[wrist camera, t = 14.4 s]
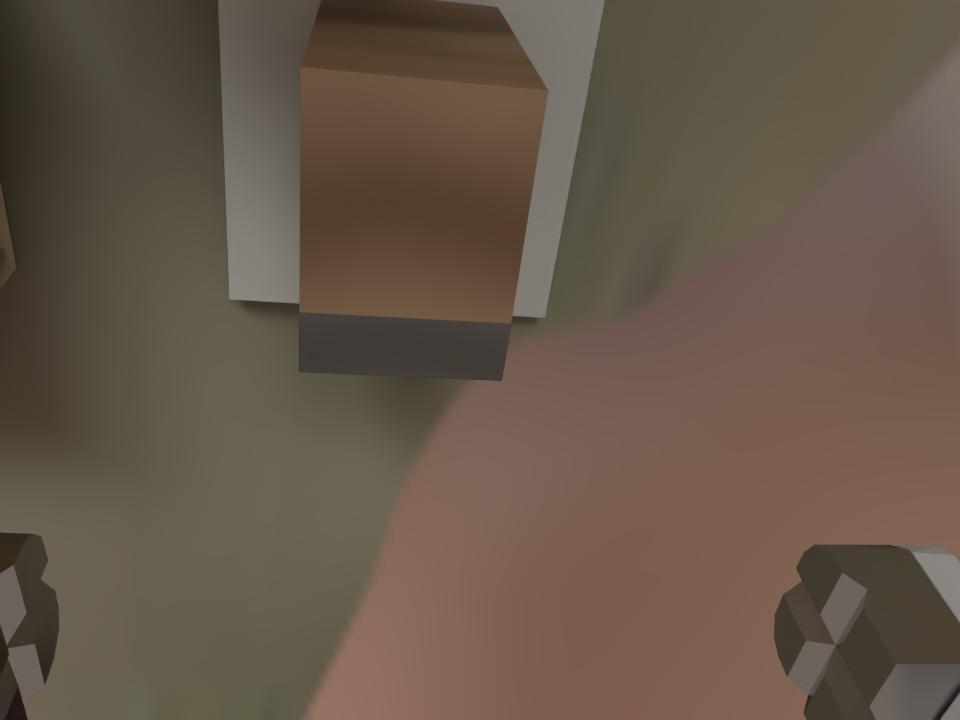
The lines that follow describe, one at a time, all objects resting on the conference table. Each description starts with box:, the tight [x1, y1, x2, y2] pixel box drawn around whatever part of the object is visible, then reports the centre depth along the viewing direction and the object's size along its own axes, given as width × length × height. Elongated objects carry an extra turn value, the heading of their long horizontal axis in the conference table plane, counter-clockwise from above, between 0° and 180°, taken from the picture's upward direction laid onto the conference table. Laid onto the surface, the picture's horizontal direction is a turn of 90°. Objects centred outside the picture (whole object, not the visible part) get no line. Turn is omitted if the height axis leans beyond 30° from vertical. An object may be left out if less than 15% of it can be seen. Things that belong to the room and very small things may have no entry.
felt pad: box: [218, 0, 605, 318], centre depth 24 cm, size 12×10×1 cm
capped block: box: [299, 0, 548, 381], centre depth 20 cm, size 6×4×8 cm
